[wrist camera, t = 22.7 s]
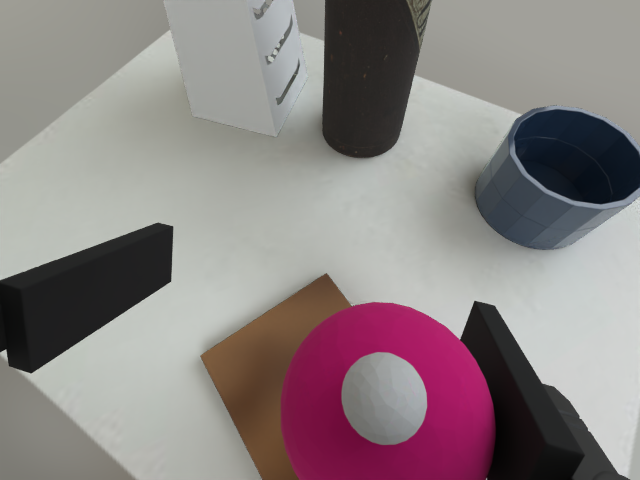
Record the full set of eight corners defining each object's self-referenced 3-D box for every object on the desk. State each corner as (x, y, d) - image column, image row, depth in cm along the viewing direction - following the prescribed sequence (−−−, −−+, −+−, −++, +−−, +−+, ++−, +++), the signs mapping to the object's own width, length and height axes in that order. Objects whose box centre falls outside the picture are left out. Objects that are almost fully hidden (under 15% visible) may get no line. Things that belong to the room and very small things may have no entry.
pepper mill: (308, 433, 24) (127, 446, 7) (362, 345, 26) (331, 185, 9) (401, 509, 21) (505, 874, 4) (452, 403, 24) (658, 334, 6)
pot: (610, 212, 33) (678, 165, 26) (538, 270, 30) (593, 233, 24) (523, 144, 37) (563, 89, 31) (452, 190, 34) (480, 140, 28)
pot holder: (418, 399, 26) (421, 399, 25) (282, 513, 23) (281, 517, 22) (326, 276, 30) (326, 272, 29) (203, 357, 27) (199, 355, 26)
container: (405, 160, 36) (485, -88, 18) (321, 163, 36) (317, -83, 18) (394, 102, 40) (451, -148, 22) (318, 105, 40) (313, -144, 22)
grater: (231, 60, 44) (168, -182, 26) (308, 76, 42) (296, -170, 24) (192, 116, 39) (83, -131, 22) (276, 137, 38) (233, -111, 20)
